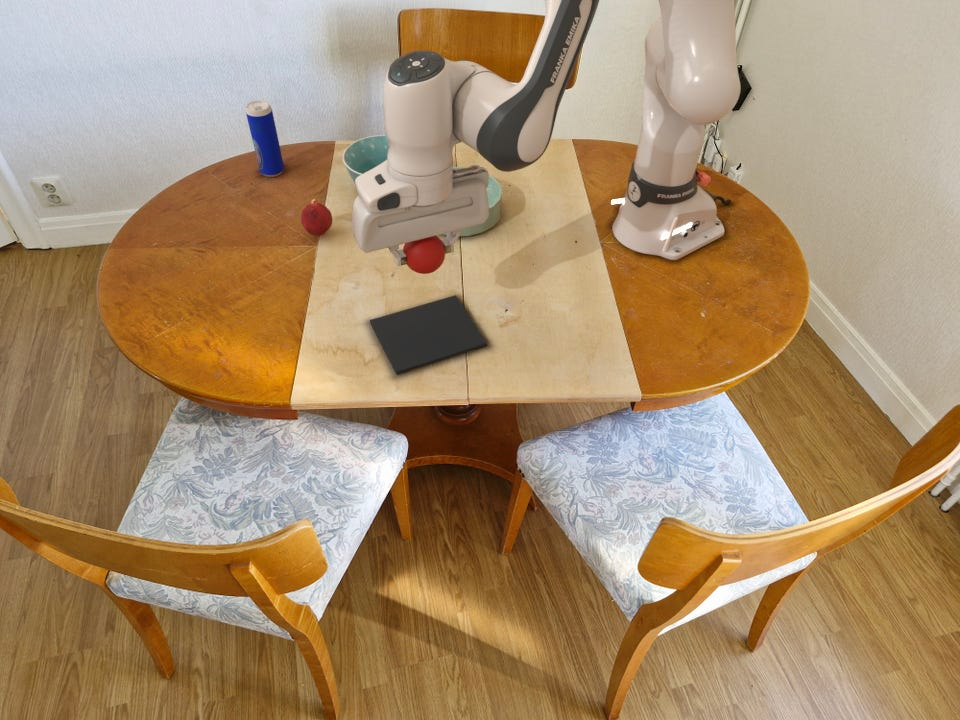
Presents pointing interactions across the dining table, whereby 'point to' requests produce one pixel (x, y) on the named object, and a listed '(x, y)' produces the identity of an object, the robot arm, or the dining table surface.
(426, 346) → the mat
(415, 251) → the red ball
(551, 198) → the dining table surface
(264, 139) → the beverage can
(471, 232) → the fruit bowl
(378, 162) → the bowl
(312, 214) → the onion
